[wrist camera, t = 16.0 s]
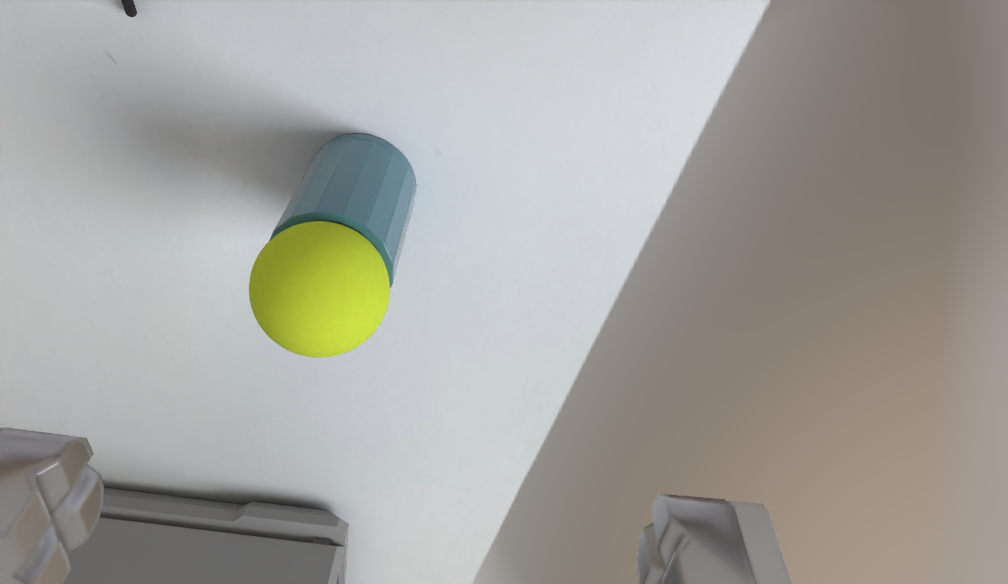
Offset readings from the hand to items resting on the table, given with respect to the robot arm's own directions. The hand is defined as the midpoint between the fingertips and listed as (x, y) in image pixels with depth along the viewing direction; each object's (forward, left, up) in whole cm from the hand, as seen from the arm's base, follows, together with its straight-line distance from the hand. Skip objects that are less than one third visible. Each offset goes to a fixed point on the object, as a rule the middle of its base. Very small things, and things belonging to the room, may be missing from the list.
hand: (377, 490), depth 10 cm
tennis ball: (+6, +12, -20) cm, 24 cm away
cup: (+6, +12, -31) cm, 34 cm away
